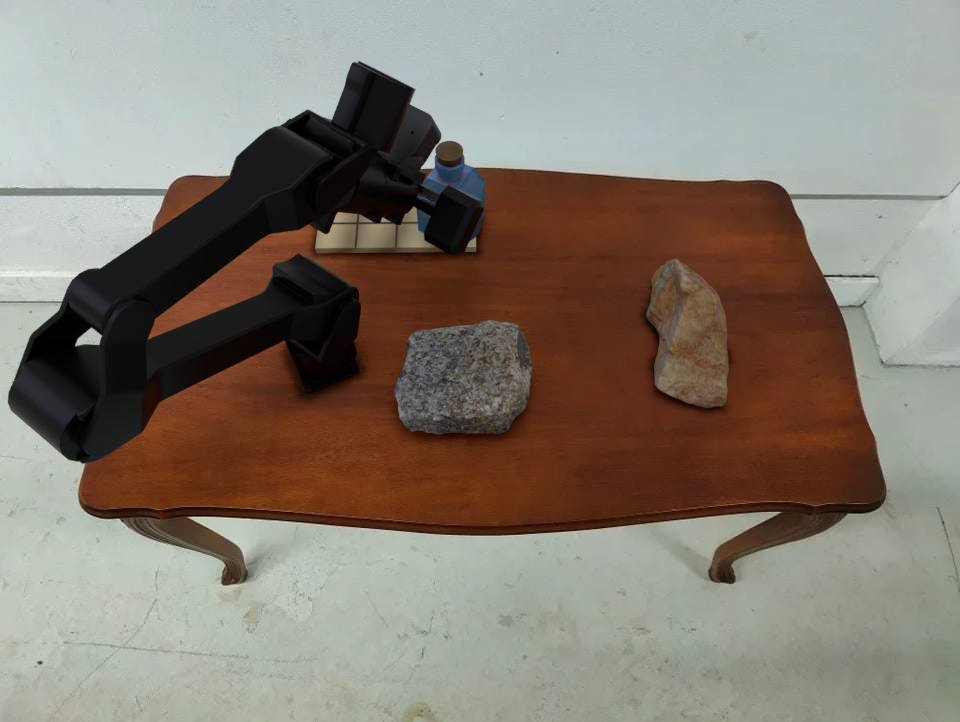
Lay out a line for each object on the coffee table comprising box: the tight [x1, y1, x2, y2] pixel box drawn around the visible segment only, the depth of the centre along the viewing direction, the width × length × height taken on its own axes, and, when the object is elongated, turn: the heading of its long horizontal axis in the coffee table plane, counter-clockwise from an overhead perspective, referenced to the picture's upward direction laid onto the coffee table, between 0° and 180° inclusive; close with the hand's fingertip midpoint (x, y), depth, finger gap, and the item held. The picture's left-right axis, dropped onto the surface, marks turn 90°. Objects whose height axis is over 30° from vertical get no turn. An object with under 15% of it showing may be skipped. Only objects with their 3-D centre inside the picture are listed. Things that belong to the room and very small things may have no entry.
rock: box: [393, 319, 534, 436], centre depth 76 cm, size 13×6×15 cm
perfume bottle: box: [416, 140, 486, 233], centre depth 85 cm, size 6×6×12 cm
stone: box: [646, 258, 730, 409], centre depth 81 cm, size 17×9×10 cm, turn 172°
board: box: [314, 207, 483, 254], centre depth 90 cm, size 21×8×1 cm, turn 91°
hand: (433, 197), depth 82 cm, fingers open, 9 cm apart
